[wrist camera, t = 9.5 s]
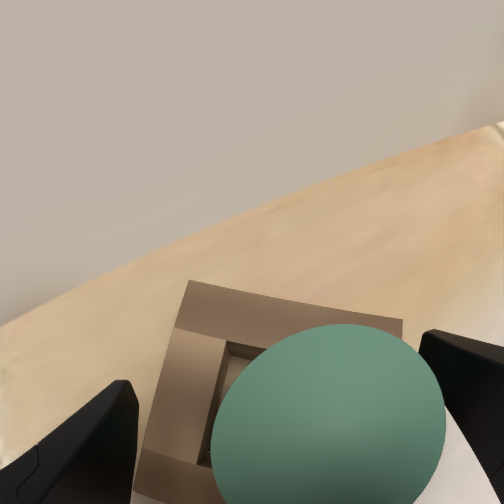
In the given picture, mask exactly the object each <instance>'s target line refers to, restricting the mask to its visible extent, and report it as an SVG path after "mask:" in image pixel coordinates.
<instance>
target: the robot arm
mask: <svg viewBox="0 0 504 504" xmlns="http://www.w3.org/2000/svg"><path fill="white" fill-rule="evenodd" d="M418 354H419V355H420V356H421V357H422V358H423V359H424V360H425V362H426V363H427V364H428V365H429V367H430V369H431V370H432V372H433V374H434V375H435V377H436V379H437V382H438V384H439V386H440V389H441V392H442V396H443V399H444V405H445V406H446V408H447V409H448V411H449V412H450V414H451V416H452V417H453V419H454V420H455V422H456V424H457V425H458V427H459V428H460V430H461V432H462V433H463V435H464V437H465V438H466V440H467V442H468V443H469V445H470V447H471V448H472V450H473V452H474V454H475V455H476V457H477V459H478V461H479V462H480V464H481V466H482V468H483V470H484V471H485V473H486V475H487V477H488V479H489V481H490V483H491V485H492V487H493V489H494V491H495V493H496V495H497V497H498V499H499V501H500V503H501V504H504V347H502V346H498V345H494V344H490V343H486V342H482V341H478V340H474V339H470V338H466V337H463V336H459V335H455V334H451V333H448V332H444V331H440V330H436V329H432V330H429V331H426V332H424V333H423V335H422V339H421V343H420V347H419V352H418ZM138 418H139V402H138V399H137V397H136V394H135V392H134V390H133V387H132V385H131V383H130V381H128V380H115V381H113V382H112V383H111V384H110V385H109V386H107V387H106V388H105V389H104V390H102V391H101V392H100V393H99V394H98V395H96V396H95V397H94V398H93V399H91V400H90V401H89V402H88V403H87V404H85V405H84V406H83V407H82V408H80V409H79V410H78V411H77V412H76V413H74V414H73V415H72V416H71V417H69V418H68V419H67V420H66V421H64V422H63V423H62V424H61V425H60V426H58V427H57V428H56V429H55V430H53V431H52V432H51V433H50V434H48V435H47V436H46V437H45V438H43V439H42V440H41V441H40V442H38V445H37V444H36V445H35V446H33V447H32V448H31V449H30V450H28V451H27V452H26V453H24V454H23V455H22V456H20V457H19V458H18V459H16V460H15V461H13V462H12V463H10V464H9V465H7V466H6V467H4V468H3V469H1V470H0V504H130V499H131V490H132V483H133V475H134V468H135V461H136V454H137V440H138Z"/></svg>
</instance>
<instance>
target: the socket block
mask: <svg viewBox="0 0 504 504" xmlns="http://www.w3.org/2000/svg"><path fill="white" fill-rule="evenodd" d="M402 322H403V319H396V318H389V317H383V316H376V315H370V314H363V313H357V312H351V311H345V310H339V309H333V308H328V307H322V306H316V305H311V304H305V303H300V302H294V301H289V300H284V299H279V298H273V297H268V296H263V295H258V294H253V293H248V292H243V291H239V290H234V289H229V288H224V287H220V286H215V285H210V284H206V283H201V282H197V281H192V280H189V281H188V284H187V287H186V291H185V294H184V297H183V300H182V303H181V306H180V309H179V313H178V316H177V319H176V322H175V326H174V329H173V332H172V336H171V339H170V343H169V346H168V349H167V353H166V356H165V360H164V363H163V367H162V371H161V374H160V378H159V381H158V385H157V389H156V393H155V396H154V400H153V404H152V408H151V412H150V416H149V420H148V424H147V428H146V432H145V436H144V440H143V445H142V449H141V453H140V458H139V462H138V467H137V472H136V476H135V481H134V486H133V491H134V492H137V493H139V494H142V495H145V496H147V497H150V498H153V499H155V500H158V501H161V502H164V503H167V504H227V503H226V502H225V500H224V499H223V497H222V495H221V493H220V491H219V489H218V487H217V484H216V480H215V477H214V474H213V469H212V463H211V452H208V451H207V450H208V446H209V442H210V438H211V434H212V430H213V425H214V421H215V417H216V413H217V409H218V405H219V401H220V396H221V392H222V388H223V384H224V380H225V376H226V371H227V367H228V363H229V359H230V355H232V356H237V357H241V358H246V359H251V360H254V359H255V358H257V357H258V356H259V355H260V354H262V353H263V352H264V351H266V350H267V349H268V348H270V347H271V346H273V345H274V344H276V343H278V342H280V341H281V340H283V339H285V338H287V337H289V336H292V335H294V334H296V333H299V332H301V331H304V330H308V329H311V328H315V327H320V326H326V325H332V324H354V325H363V326H368V327H372V328H376V329H379V330H382V331H385V332H387V333H390V334H391V335H393V336H395V337H397V338H399V339H401V340H402Z"/></svg>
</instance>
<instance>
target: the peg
mask: <svg viewBox="0 0 504 504" xmlns="http://www.w3.org/2000/svg"><path fill="white" fill-rule="evenodd" d="M445 432H446V412H445V405H444V399H443V396H442V392H441V389H440V386H439V384H438V382H437V379H436V377H435V375H434V374H433V372H432V370H431V369H430V367H429V365H428V364H427V363H426V362H425V360H424V359H423V358H422V357H421V356H420V355H419V354H418V353H417V352H416V351H415V350H414V349H413V348H412V347H411V346H409V345H408V344H407V343H405V342H404V341H402V340H401V339H399V338H397V337H395V336H393V335H391V334H390V333H387V332H385V331H382V330H379V329H376V328H372V327H368V326H363V325H354V324H332V325H326V326H320V327H315V328H311V329H308V330H304V331H301V332H299V333H296V334H294V335H292V336H289V337H287V338H285V339H283V340H281V341H280V342H278V343H276V344H274V345H273V346H271V347H270V348H268V349H267V350H266V351H264V352H263V353H262V354H260V355H259V356H258V357H257V358H255V359H254V360H253V361H252V362H251V363H250V364H249V365H248V366H247V367H246V368H245V369H244V370H243V371H242V373H241V374H240V375H239V376H238V377H237V379H236V380H235V381H234V383H233V384H232V386H231V387H230V389H229V390H228V392H227V393H226V395H225V397H224V399H223V401H222V403H221V406H220V408H219V410H218V413H217V416H216V419H215V422H214V426H213V432H212V438H211V463H212V469H213V474H214V477H215V480H216V484H217V487H218V489H219V491H220V493H221V495H222V497H223V499H224V500H225V502H226V503H227V504H413V503H414V501H415V500H416V499H417V498H418V497H419V495H420V494H421V493H422V492H423V490H424V489H425V487H426V486H427V484H428V483H429V481H430V479H431V477H432V475H433V473H434V471H435V469H436V467H437V465H438V462H439V459H440V457H441V454H442V450H443V445H444V441H445Z"/></svg>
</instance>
